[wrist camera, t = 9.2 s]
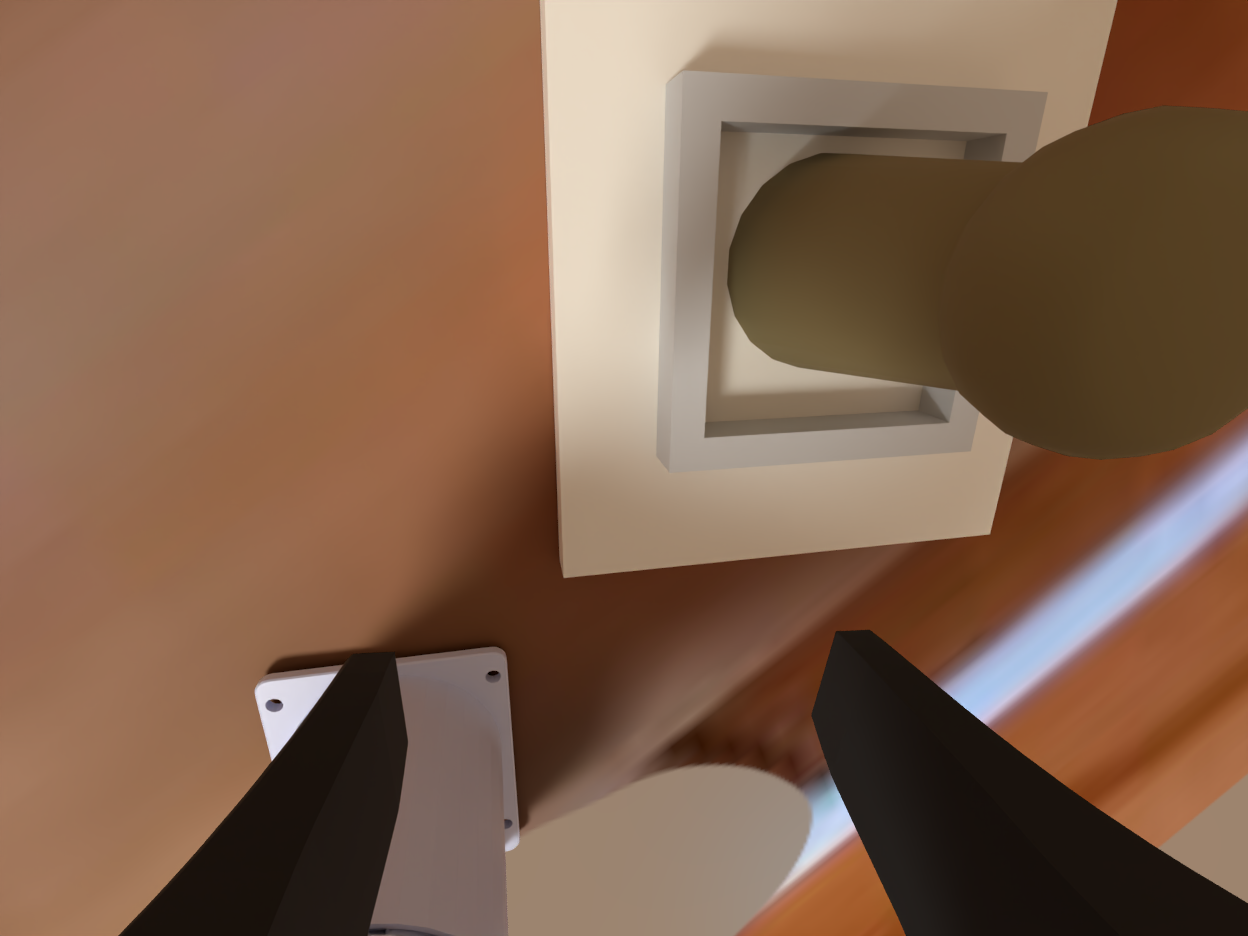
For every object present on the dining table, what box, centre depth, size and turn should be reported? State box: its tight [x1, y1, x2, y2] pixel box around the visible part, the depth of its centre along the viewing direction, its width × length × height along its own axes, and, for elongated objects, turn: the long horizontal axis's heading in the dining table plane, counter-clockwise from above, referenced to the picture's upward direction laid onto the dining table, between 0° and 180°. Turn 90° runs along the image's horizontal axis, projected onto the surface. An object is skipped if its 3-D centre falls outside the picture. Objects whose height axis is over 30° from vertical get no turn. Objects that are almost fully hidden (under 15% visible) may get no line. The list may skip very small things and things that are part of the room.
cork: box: [727, 106, 1248, 460], centre depth 13 cm, size 6×6×11 cm
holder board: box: [540, 0, 1118, 578], centre depth 18 cm, size 18×16×3 cm
